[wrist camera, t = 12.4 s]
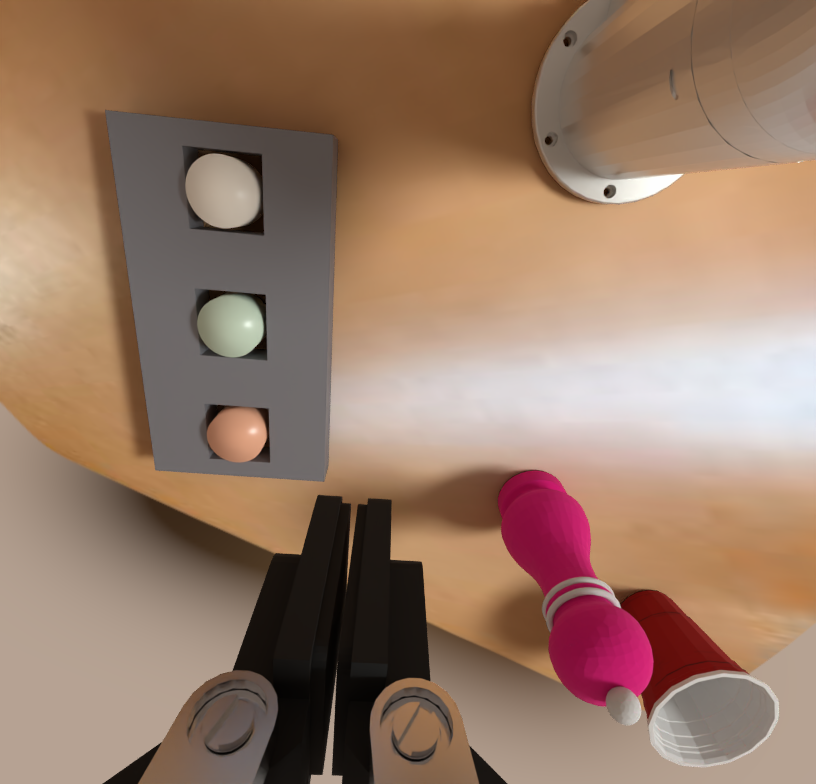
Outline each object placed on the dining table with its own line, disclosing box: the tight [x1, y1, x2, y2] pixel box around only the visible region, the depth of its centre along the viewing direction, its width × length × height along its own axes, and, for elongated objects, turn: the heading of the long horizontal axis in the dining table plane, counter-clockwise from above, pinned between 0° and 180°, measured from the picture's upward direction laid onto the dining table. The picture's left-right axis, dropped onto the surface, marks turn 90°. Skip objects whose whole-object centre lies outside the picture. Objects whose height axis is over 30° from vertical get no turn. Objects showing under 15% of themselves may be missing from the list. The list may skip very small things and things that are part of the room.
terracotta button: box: [207, 405, 269, 462], centre depth 37 cm, size 4×4×3 cm
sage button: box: [197, 291, 267, 357], centre depth 34 cm, size 4×4×3 cm
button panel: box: [105, 110, 338, 482], centre depth 34 cm, size 26×14×2 cm, turn 175°
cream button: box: [185, 154, 264, 228], centre depth 31 cm, size 4×4×3 cm
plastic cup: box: [620, 590, 779, 767], centre depth 43 cm, size 11×11×12 cm
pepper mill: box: [498, 471, 653, 725], centre depth 34 cm, size 7×7×20 cm
